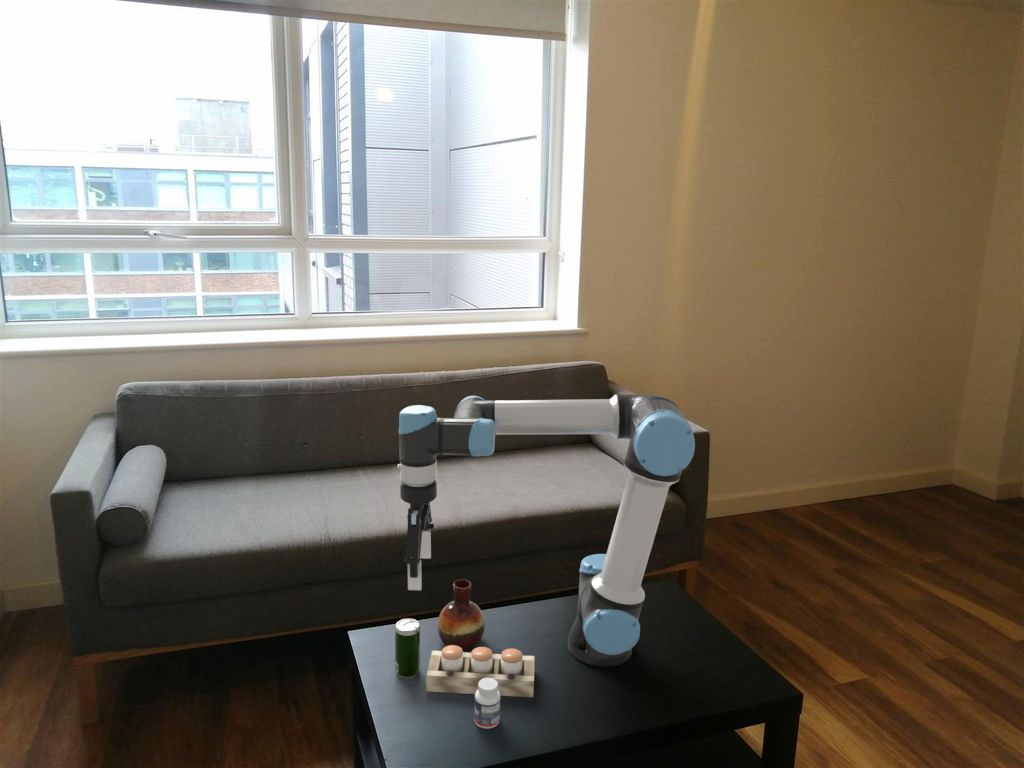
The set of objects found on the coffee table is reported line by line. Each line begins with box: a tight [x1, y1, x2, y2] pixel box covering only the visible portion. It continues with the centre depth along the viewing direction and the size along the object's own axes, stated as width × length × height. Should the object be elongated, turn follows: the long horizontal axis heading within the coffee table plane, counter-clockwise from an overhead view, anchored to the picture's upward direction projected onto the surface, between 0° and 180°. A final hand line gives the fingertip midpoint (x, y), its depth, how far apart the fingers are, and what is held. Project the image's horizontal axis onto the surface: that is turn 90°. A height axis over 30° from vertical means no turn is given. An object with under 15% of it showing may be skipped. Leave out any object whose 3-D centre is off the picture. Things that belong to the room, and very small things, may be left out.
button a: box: [500, 648, 523, 676], centre depth 174 cm, size 5×5×4 cm
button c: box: [441, 645, 464, 672], centre depth 174 cm, size 5×5×4 cm
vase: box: [437, 578, 486, 652], centre depth 188 cm, size 11×11×15 cm
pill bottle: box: [473, 678, 501, 730], centre depth 162 cm, size 5×5×9 cm
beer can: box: [394, 618, 421, 680], centre depth 176 cm, size 5×5×12 cm
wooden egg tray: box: [425, 650, 535, 698], centre depth 175 cm, size 23×9×4 cm, turn 88°
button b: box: [471, 646, 494, 674], centre depth 174 cm, size 5×5×4 cm
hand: (419, 573), depth 170 cm, fingers open, 13 cm apart
